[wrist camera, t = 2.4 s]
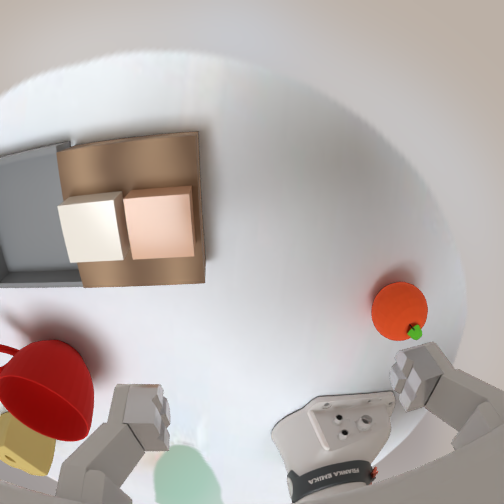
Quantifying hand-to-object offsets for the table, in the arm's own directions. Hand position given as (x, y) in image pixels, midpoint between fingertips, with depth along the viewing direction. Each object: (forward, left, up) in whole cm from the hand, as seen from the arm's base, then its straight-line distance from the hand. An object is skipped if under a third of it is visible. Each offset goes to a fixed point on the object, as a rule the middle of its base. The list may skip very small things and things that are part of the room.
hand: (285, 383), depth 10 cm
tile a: (+12, 0, -18) cm, 22 cm away
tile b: (+6, 0, -18) cm, 19 cm away
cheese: (+43, +41, -22) cm, 64 cm away
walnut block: (+9, 0, -22) cm, 24 cm away
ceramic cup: (+26, +19, -22) cm, 40 cm away
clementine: (-19, +13, -22) cm, 32 cm away
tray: (+22, 0, -22) cm, 31 cm away
